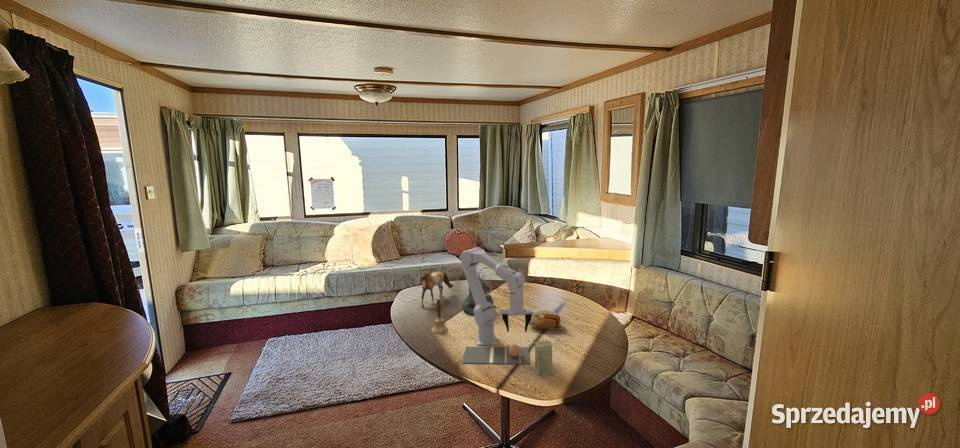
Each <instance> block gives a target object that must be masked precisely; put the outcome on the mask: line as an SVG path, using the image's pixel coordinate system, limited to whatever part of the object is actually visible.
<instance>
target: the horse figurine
mask: <svg viewBox="0 0 960 448" xmlns="http://www.w3.org/2000/svg"><path fill="white" fill-rule="evenodd" d="M420 278H421V283H422V284H421V289H422V291H421V308H424V307H425V305H424V298H425V293H426V292H427V290H429V291H430V296H431V300H432V301H431V303H430V305H431V306H433V305H434V304H435V303H434V301H435V299H434V293H433V289H434V287H436V286H437V287H438V289H439V295H438V297H440V300H443V298H444V296H443V290H444V286H443V282H444V284H445V285H446V286H447V287H448V288H449V289H452V288H453V287H454V286H455V285H454V284H452V283H450V279H449V277H448V275H447V274H446V273H444V272H441V271H433V272H432V273H431V274H429V273H424V274H422V276H421V277H420Z"/></svg>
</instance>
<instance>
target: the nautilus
mask: <svg viewBox="0 0 960 448" xmlns="http://www.w3.org/2000/svg"><path fill="white" fill-rule="evenodd" d="M562 322H563V320H562V319H561V317H560V315H559V314H557V313H556V312H554V311H550V310H538V311H534V316H531V320H530V322H529V324H528V325H530V326H533V327H535V328H537V329H539V330H542V329H543V330H550V329H555V330H558V332H559V333H561V332H565V333H568V331H567V328H566V327H567V324H566V323H565V322H563V323H562ZM564 324H565V325H566V327H565V325H564Z"/></svg>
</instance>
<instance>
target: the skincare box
mask: <svg viewBox="0 0 960 448" xmlns="http://www.w3.org/2000/svg"><path fill="white" fill-rule="evenodd" d="M534 357H535V361H534V362H535V373H536V375H537V376H550V375H551V376H552V375H553V374H554V373H553V372H554V370H553V368H554V365H553V344H552V342H551V341H550V340H545V341H543V340H541V341H540V340H539V341H534Z"/></svg>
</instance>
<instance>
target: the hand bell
mask: <svg viewBox="0 0 960 448" xmlns="http://www.w3.org/2000/svg"><path fill="white" fill-rule="evenodd" d="M435 308H436V313H437V317H436V319H435V320H434V325H433V327H432V328H431V332H432V333H433V334H439V335H440V334H444V333H447V332H448V331H449V328H448V327H447V326H446V323H445V319H444V318H442V316H441V315H442V314H441V313H442V312H441V311H442V302H441V298H440V299H439V298H438V299H436V304H435Z"/></svg>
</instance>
